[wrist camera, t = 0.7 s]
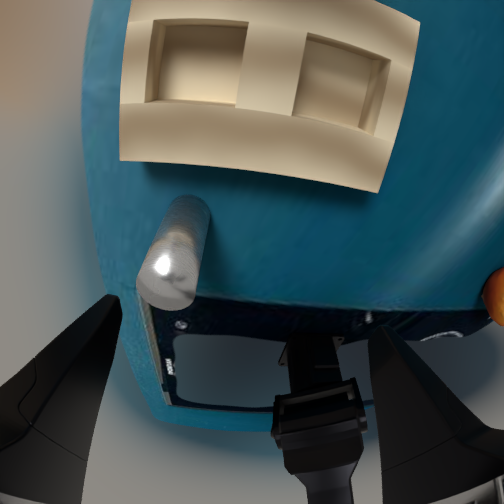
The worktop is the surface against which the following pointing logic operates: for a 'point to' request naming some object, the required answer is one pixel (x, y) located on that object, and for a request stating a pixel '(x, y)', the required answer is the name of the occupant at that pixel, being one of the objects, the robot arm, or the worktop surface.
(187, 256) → the pin
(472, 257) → the worktop surface
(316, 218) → the worktop surface
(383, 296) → the worktop surface
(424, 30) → the worktop surface
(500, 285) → the fruit
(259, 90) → the socket block
